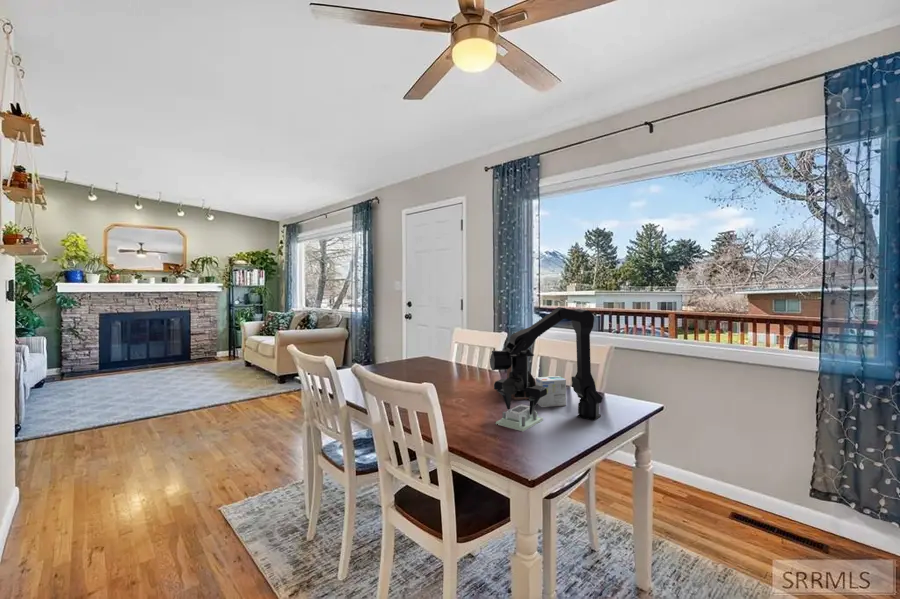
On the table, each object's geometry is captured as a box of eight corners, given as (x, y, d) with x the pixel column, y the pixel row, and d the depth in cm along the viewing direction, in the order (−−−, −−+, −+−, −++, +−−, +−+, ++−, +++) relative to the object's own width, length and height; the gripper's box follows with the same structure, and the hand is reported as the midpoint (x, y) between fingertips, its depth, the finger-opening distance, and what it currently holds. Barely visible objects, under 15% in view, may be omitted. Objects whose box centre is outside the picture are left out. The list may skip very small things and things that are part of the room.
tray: (542, 420, 152) (542, 409, 151) (522, 431, 141) (522, 420, 141) (516, 413, 159) (516, 404, 159) (495, 424, 148) (495, 413, 148)
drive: (533, 417, 152) (533, 406, 152) (518, 425, 144) (518, 413, 144) (521, 414, 155) (521, 404, 155) (506, 422, 148) (506, 410, 147)
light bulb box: (559, 400, 175) (559, 375, 174) (566, 405, 168) (566, 379, 167) (535, 402, 173) (535, 376, 172) (541, 407, 166) (541, 380, 165)
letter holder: (512, 400, 177) (512, 367, 176) (506, 387, 196) (506, 357, 196) (536, 400, 177) (536, 367, 176) (527, 387, 196) (527, 357, 196)
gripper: (484, 369, 149) (485, 412, 150) (531, 377, 137) (531, 423, 138) (502, 363, 157) (502, 404, 158) (547, 370, 145) (547, 415, 146)
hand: (519, 411), depth 150 cm, fingers open, 9 cm apart
